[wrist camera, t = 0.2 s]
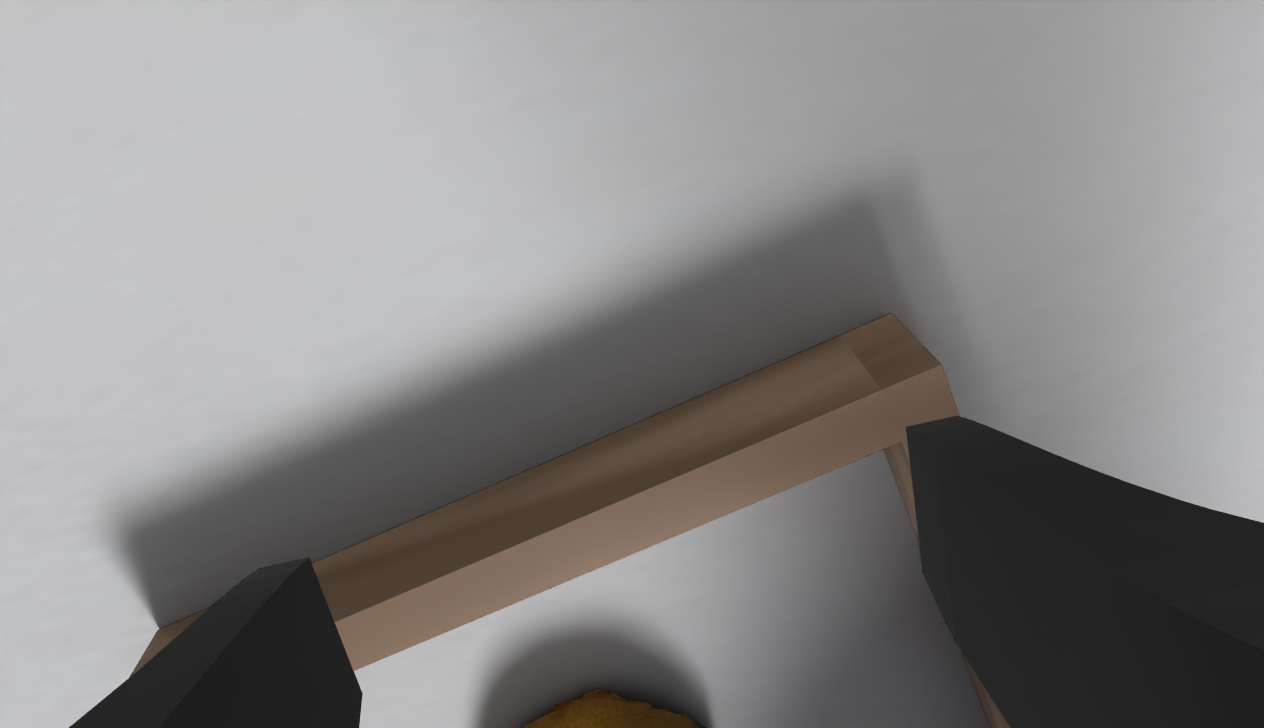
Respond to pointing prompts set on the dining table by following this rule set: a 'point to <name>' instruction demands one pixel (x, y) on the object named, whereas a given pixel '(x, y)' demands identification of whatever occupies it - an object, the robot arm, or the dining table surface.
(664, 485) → the open wooden frame
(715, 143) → the dining table surface
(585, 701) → the fruit
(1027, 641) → the robot arm
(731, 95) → the dining table surface
